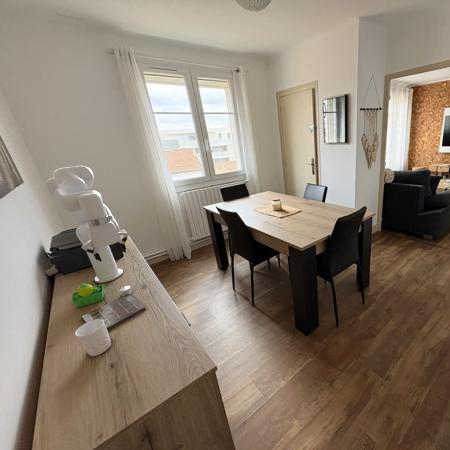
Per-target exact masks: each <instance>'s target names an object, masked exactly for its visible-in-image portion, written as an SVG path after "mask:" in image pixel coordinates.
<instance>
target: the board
mask: <svg viewBox="0 0 450 450" xmlns="http://www.w3.org/2000/svg"><path fill="white" fill-rule="evenodd" d="M145 310H146V307H145V306H144V305H143V304H142V303H140V302H139V301H138V300H137V299H136V298H134V297H133V295H131V294H130V295H129V294H127V295H125V296H120V297H119V298H117V299H115V300H112V301H111V302H108V303H106V304H105V305H102V306H99V307H98V308H96V309H94V310H91V311H90V312H88V313H86V314H84V315H82V316H81V318H82V320H83V322H84V323H87V322H89V321H92V320H96V319H102V320H103V321H104V323H105V326H106V328H107V331H108V332H109V331H110V330H111V329H114V328H115V327H117V326H118V325H120V324H122V323H124V322H126V321H127V320H129V319H131V318H134V316H136V315H138V314H140V313H143V311H145Z"/></svg>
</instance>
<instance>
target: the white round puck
mask: <svg viewBox="0 0 450 450" xmlns="http://www.w3.org/2000/svg"><path fill="white" fill-rule="evenodd" d="M132 293H133V290H132V288H131V286H130V285H126V286H122V287H121V288H120V289H119V294H120V297H123V296H125V295H127V294H129V295H131V294H132Z"/></svg>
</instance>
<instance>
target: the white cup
mask: <svg viewBox="0 0 450 450" xmlns="http://www.w3.org/2000/svg"><path fill="white" fill-rule="evenodd" d="M74 335H75V337H76V338H77V340H78V342H79V343H80V345H81V346H82V348H83V350H85V352H86V354H88V355H89V356H91V357H96V356H99V355H101V354H103V353H105V352H106V351H107V350H109V349H110V347H111V345H112V340H111V338H110V334H109V330H108V331H107V328H106V326H105V323H104V321H103V320H102V319H96V320H92V321H89V322H87V323H86V322H84V323H83V324H82V325H80V326H79V327H78V328H77V329H76V330H75V332H74Z"/></svg>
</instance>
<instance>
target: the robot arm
mask: <svg viewBox="0 0 450 450" xmlns="http://www.w3.org/2000/svg"><path fill="white" fill-rule="evenodd" d="M94 181H95V175H94V172H93V171H92V170H91V169H90V167H87V166H85V165H76V166H67V167H59V168H57V169H56V170H54V171H53V174H52V177H50V178H48V179H47V180H46V181H45V187H46V189H47V191H48V192H49V194H50V195H51V196H52V197H53V198H54V199H55V201H56V202H57V204H58V205H59V207H60V208H61V209H62V210H63V211H64V212H66V213H67V215H68V216H69V218H70V219H71V221H72V222H73V223H74V224H75V225H76V226H78V227H77V228H76V229H75V235H76V237H77V238H78V240H79V242H80V243H81V244H82V246H81V249H82V250H84V251H85V252H86V254H87V256H88V258H89V261H90V264H91V265H92V268H93V270H94V273H95V275H96V276H95V277H94V281H95V283H97V284H101V283H102V284H103V283H108V282H111V281H114V280H115V279H117V278H120V277H121V276H122V274H123V273H124V271H123V269H122V268H118V265H117V262H116V260H115V258H114V255H113V252H112V249H111V248H110V246H112V245H114V244H117V243H119V247H120V250H121V252H123V253H127V247H126V242H127V240H128V237H129V233H128V232H122V231H121V227H120V225H119V223H118V222H117V220H116V218H115V217H114V215H113V214H112V212H111V210H110V209H109V208H108V206H107V205H106V204H105V203H104V199H103V196H102V194H101V193H100V192H98V191H97V190H93V189H91V188H92V186H93V183H94ZM88 189H90V190H88ZM121 236H123V237H122V238H121Z"/></svg>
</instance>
